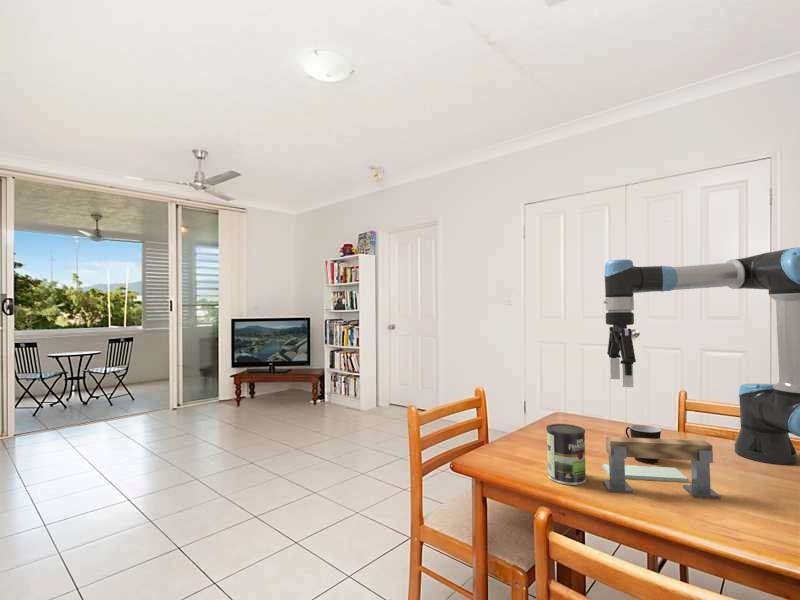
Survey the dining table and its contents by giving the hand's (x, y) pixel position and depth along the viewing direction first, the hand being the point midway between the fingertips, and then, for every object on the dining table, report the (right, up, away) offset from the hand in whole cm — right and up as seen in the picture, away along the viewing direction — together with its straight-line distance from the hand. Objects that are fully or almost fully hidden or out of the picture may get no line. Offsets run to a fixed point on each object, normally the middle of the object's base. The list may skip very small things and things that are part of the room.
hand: (621, 382), depth 125 cm
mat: (+4, -26, -4) cm, 26 cm away
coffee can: (-18, -26, -5) cm, 33 cm away
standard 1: (-8, -26, -13) cm, 30 cm away
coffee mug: (+12, -26, +9) cm, 30 cm away
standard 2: (+12, -25, -17) cm, 33 cm away
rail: (+2, -17, -15) cm, 22 cm away
